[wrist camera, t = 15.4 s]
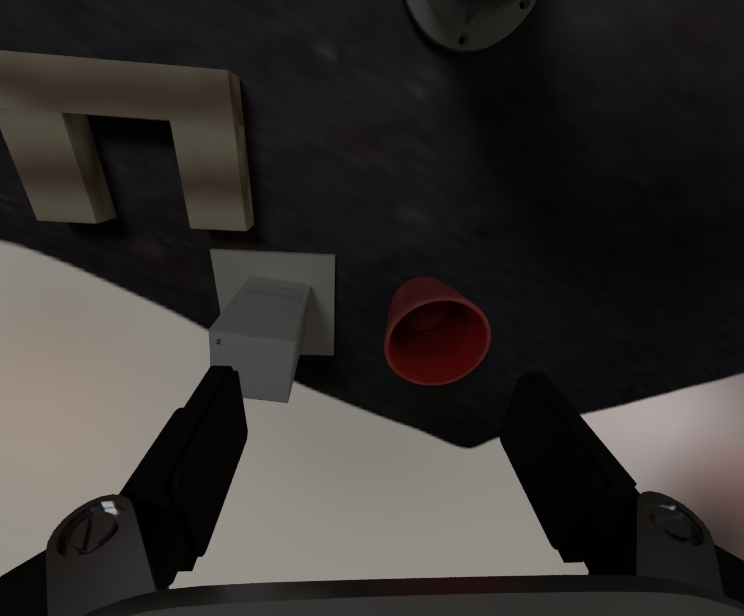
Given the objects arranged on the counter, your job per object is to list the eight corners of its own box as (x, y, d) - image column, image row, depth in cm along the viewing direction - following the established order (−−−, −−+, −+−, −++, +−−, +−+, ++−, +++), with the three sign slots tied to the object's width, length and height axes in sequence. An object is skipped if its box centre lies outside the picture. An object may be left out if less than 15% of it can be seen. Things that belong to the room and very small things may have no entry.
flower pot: (370, 274, 39) (374, 311, 30) (459, 255, 38) (490, 288, 30) (386, 345, 44) (393, 394, 35) (465, 329, 43) (492, 375, 35)
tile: (212, 248, 36) (210, 250, 36) (335, 254, 37) (334, 256, 37) (229, 350, 43) (227, 352, 42) (333, 352, 44) (333, 355, 43)
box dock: (4, 56, 28) (-33, 47, 25) (239, 76, 29) (227, 70, 27) (62, 214, 34) (37, 220, 31) (254, 224, 35) (246, 231, 33)
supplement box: (247, 326, 41) (207, 395, 29) (250, 272, 37) (206, 327, 26) (306, 335, 42) (288, 406, 30) (313, 284, 38) (296, 341, 27)
